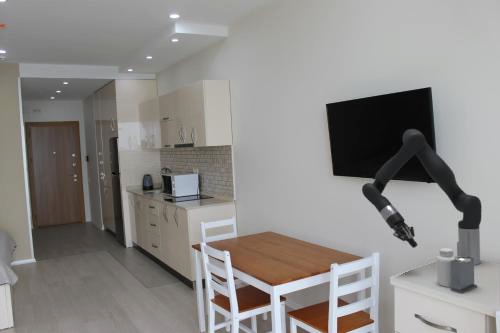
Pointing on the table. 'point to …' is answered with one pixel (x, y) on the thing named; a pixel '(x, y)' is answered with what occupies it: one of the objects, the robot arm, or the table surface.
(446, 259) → the pill bottle
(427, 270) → the table surface
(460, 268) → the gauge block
